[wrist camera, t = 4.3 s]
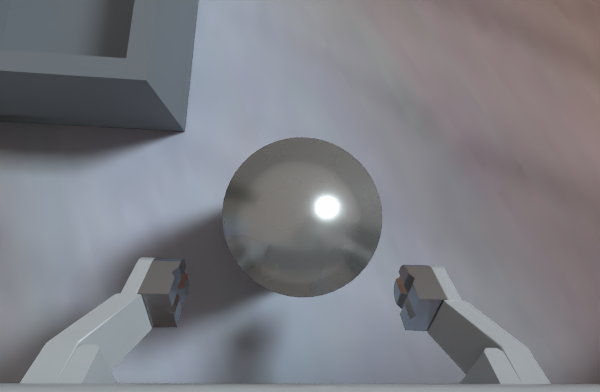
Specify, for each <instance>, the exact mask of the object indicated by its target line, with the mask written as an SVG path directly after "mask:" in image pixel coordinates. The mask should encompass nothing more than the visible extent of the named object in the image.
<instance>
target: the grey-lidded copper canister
mask: <svg viewBox="0 0 600 392" xmlns="http://www.w3.org/2000/svg"><path fill="white" fill-rule="evenodd" d="M222 224H223V232H224V236H225V239H226V243H227V245H228V248H229V250H230V252H231V254H232V256H233V258H234V259H235V261H236V262H237V264H238V265H239V266H240V268H241V269H242V270H243V271H244V272H245V273H246V274H247V275H248V276H249V277H250V278H251V279H253V280H254V281H255V282H257V283H258V284H259V285H261V286H263V287H265V288H267V289H268V290H271V291H273V292H276V293H279V294H282V295H287V296H292V297H314V296H319V295H324V294H327V293H330V292H333V291H335V290H337V289H339V288H341V287H343V286H345V285H346V284H348V283H349V282H351V281H352V280H353V279H354V278H355V277H356V276H358V275H359V274H360V273H361V271H362V270H363V269H364V268H365V267H366V266H367V264H368V263H369V261H370V260H371V258H372V256H373V254H374V252H375V250H376V248H377V245H378V242H379V239H380V234H381V229H382V207H381V202H380V197H379V194H378V191H377V188H376V186H375V184H374V182H373V180H372V178H371V176H370V175H369V173H368V172H367V170H366V169H365V168H364V167H363V166H362V164H361V163H360V162H359V161H358V160H357V159H356V158H354V157H353V156H352V155H351V154H350V153H348V152H347V151H345V150H344V149H342V148H340V147H338V146H336V145H334V144H332V143H329V142H327V141H323V140H319V139H314V138H289V139H284V140H280V141H276V142H274V143H271V144H269V145H266V146H265V147H263V148H261V149H259V150H258V151H256V152H255V153H254V154H252V155H251V156H250V157H249V158H248V159H247V160H245V161H244V162H243V163H242V165H241V166H240V167H239V168H238V170H237V171H236V172H235V174H234V176H233V177H232V179H231V181H230V183H229V186H228V188H227V190H226V194H225V197H224V202H223V209H222Z"/></svg>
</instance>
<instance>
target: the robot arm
mask: <svg viewBox="0 0 600 392" xmlns="http://www.w3.org/2000/svg"><path fill="white" fill-rule="evenodd" d="M185 268H186V263H185V260H184V259H174V258H150V257H141V258H140V259H139V260H138V261H137V263H136V264H135V266H134V268H133V270H132V272H131V274H130V276H129V278H128V279H127V281H126V283H125V285H124V287H123V289H122V291H121V293H120V294H114V295H113V296H112V297H110V298H109V299H107V300H106V301H104V302H103V303H102V304H100V305H99V306H97V307H96V308H95V309H93V310H92V311H90V312H89V313H87V314H86V315H85V316H83V317H82V318H80V319H79V320H78V321H76V322H75V323H73V324H72V325H70V326H69V327H68V328H66V329H65V330H63V331H62V332H61V333H59V334H58V335H56V336H55V337H53V338H52V339H51V340H49V341H48V342H46V344H45V345H44V347H43V348H42V350H41V352H40V353H39V355H38V356H37V358H36V359H35V361H34V362H33V364H32V365H31V367H30V368H29V370H28V371H27V373H26V374H25V376H24V377H23V379H22V380H21V382H20V383H0V392H600V384H551V383H550V382H549V380H548V378H547V377H546V375H545V374H544V372H543V371H542V369H541V368H540V366H539V365H538V363H537V361H536V360H535V358H534V357H533V355H532V354H531V352H530V351H529V349H528V348H527V347H526V346H525V345H523V344H522V343H521V342H520V341H518V340H517V339H516V338H514V337H513V336H512V335H510V334H509V333H508V332H506V331H505V330H504V329H502V328H501V327H500V326H498V325H497V324H496V323H494V322H493V321H492V320H491V319H489V318H488V317H487V316H485V315H484V314H483V313H481V312H480V311H479V310H477V309H476V308H475V307H473V306H472V305H471V304H469V303H468V302H467V301H462V300H461V298H460V296H459V294H458V292H457V291H456V289H455V287H454V285H453V283H452V281H451V280H450V278H449V276H448V274H447V272H446V271H445V269H444V267H442V266H433V265H428V266H427V265H402V266H401V267H400V270H399V274H400V277H399V278H397V279H396V281H395V284H394V297H395V301H396V304H397V305H398V306H399V307H400V308H401V309H402V310H401V313H400V316H401V319H402V322H403V325H404V328H405V330H414V331H428V333H429V335H430V336H431V337H432V338H433V339H434V340H435V341H436V342H437V343H438V344H439V345H440V347H441V348H442V349H443V350H444V351H445V352H446V353H447V354H448V355H449V356H450V357H451V359H452V360H453V361H454V362H455V363H456V364H457V365H458V366H459V367H460V368H461V369H462V371H463V372H464V373H465V374H466V376H465V377H464V378H463V380H462V381H461V382H460V384H117V382H116V380H115V378H114V376H113V374H112V372H111V370H112V369H113V368H114V367H115V366H116V365H117V364H118V363H119V362H120V361H121V360H122V359H123V358H124V357H125V356H126V355H127V354H128V353H129V352H130V351H131V350H132V349H133V348H134V347H135V346H136V345H137V344H138V343H139V342H140V341H141V340H142V339H143V338H144V337H145V336H146V335H147V334H148V333H149V332H150V330H151V329H152V327H177V325H178V322H179V319H180V315H181V312H182V308H181V303H182V302H184V301H185V300H186V296H187V293H188V286H189V279H188V274H187V273H185V272H184V271H185Z"/></svg>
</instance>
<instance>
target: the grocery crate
mask: <svg viewBox="0 0 600 392" xmlns="http://www.w3.org/2000/svg"><path fill="white" fill-rule="evenodd" d="M197 9H198V0H0V121H11V122H29V123H47V124H64V125H82V126H100V127H117V128H135V129H153V130H170V131H185V125H186V115H187V106H188V96H189V86H190V77H191V67H192V57H193V48H194V38H195V29H196V19H197Z"/></svg>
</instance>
